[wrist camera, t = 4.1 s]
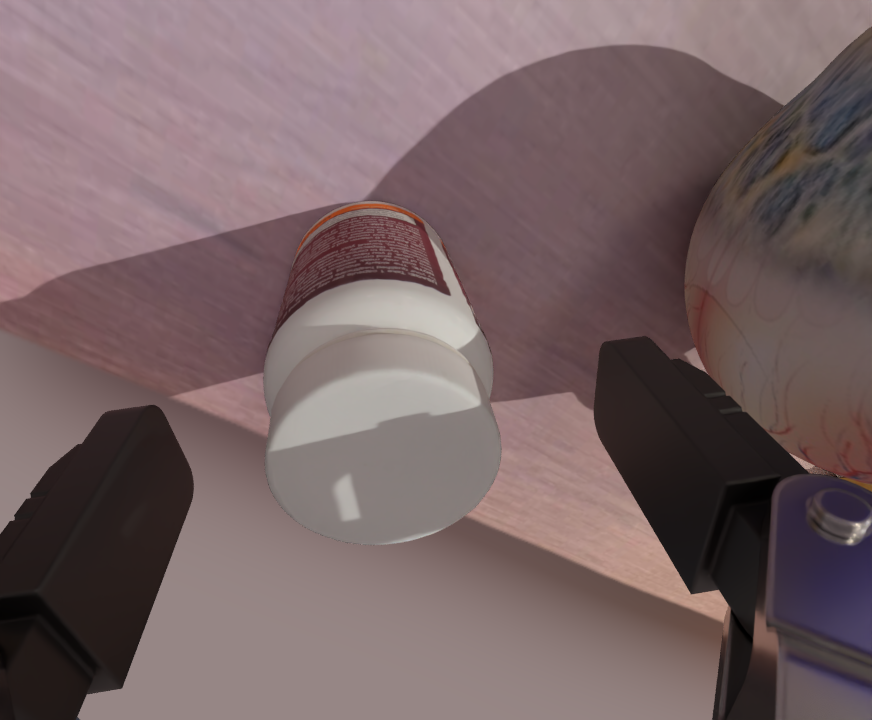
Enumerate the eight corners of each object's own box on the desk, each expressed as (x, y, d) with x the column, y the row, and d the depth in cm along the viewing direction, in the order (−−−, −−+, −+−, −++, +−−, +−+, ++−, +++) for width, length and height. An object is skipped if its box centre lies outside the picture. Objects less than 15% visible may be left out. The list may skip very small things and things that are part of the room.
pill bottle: (260, 283, 15) (176, 492, 8) (364, 160, 14) (371, 286, 7) (380, 368, 17) (396, 592, 10) (481, 270, 16) (579, 452, 9)
